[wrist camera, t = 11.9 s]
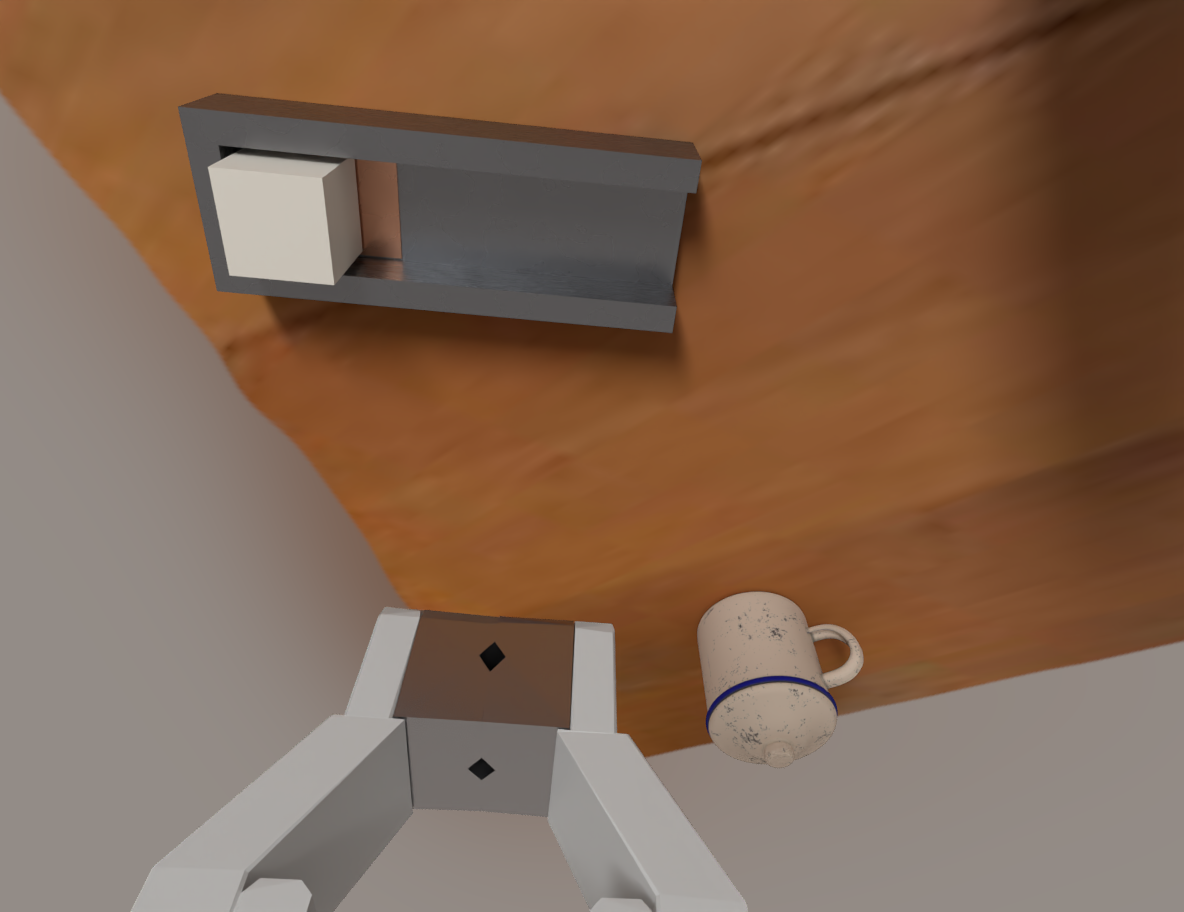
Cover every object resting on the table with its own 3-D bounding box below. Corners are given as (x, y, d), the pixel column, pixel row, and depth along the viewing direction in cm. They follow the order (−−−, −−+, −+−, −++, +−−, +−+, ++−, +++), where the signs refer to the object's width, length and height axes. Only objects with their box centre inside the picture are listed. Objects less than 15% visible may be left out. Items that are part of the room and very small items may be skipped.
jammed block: (353, 153, 36) (321, 178, 32) (362, 250, 39) (334, 285, 35) (252, 143, 36) (207, 166, 32) (269, 242, 39) (229, 275, 35)
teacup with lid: (722, 678, 61) (745, 812, 51) (673, 613, 56) (688, 746, 47) (860, 629, 57) (911, 763, 48) (819, 555, 53) (867, 687, 43)
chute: (692, 142, 37) (701, 160, 34) (666, 303, 42) (672, 332, 39) (217, 93, 36) (177, 106, 33) (248, 264, 41) (217, 290, 37)
